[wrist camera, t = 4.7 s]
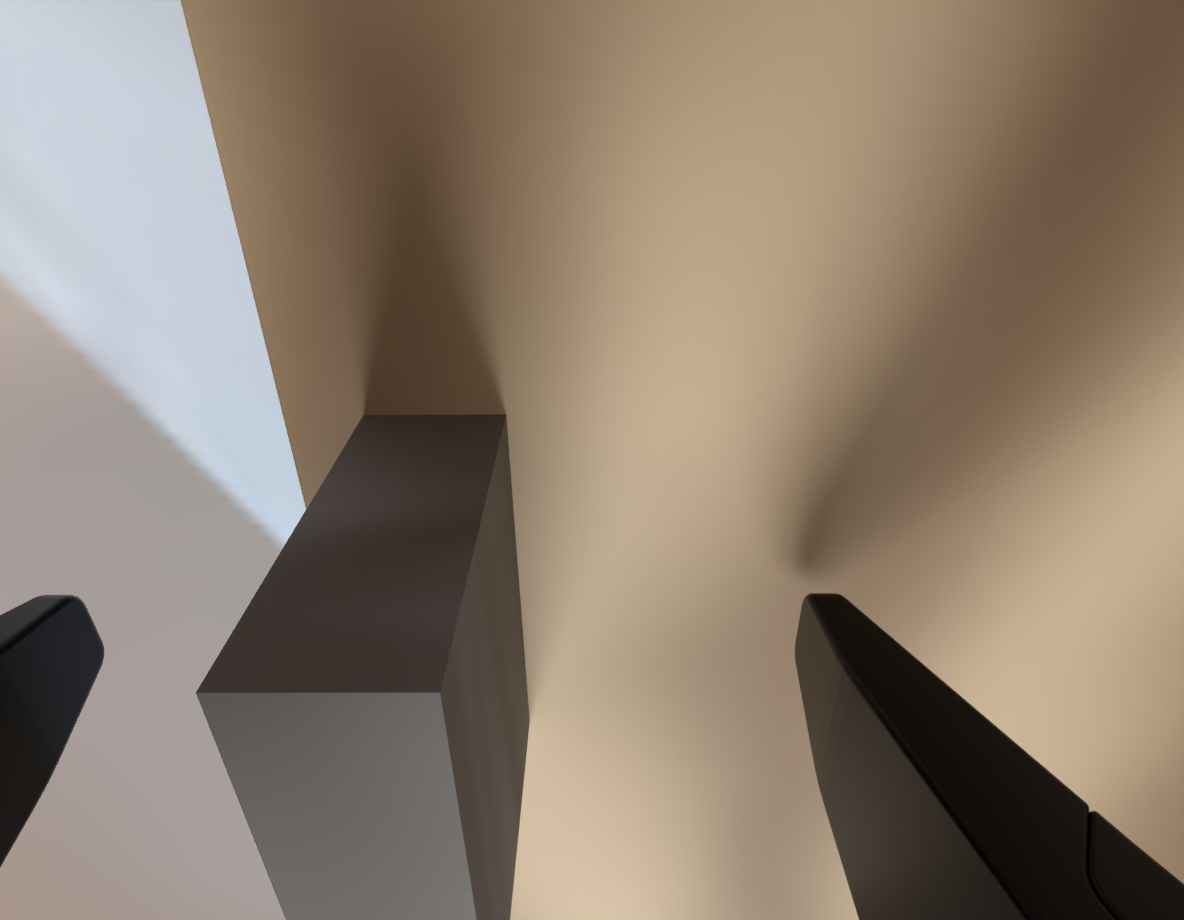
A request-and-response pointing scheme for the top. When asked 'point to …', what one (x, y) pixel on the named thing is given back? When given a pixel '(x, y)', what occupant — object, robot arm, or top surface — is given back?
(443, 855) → the lid
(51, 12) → the top surface
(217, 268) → the top surface
